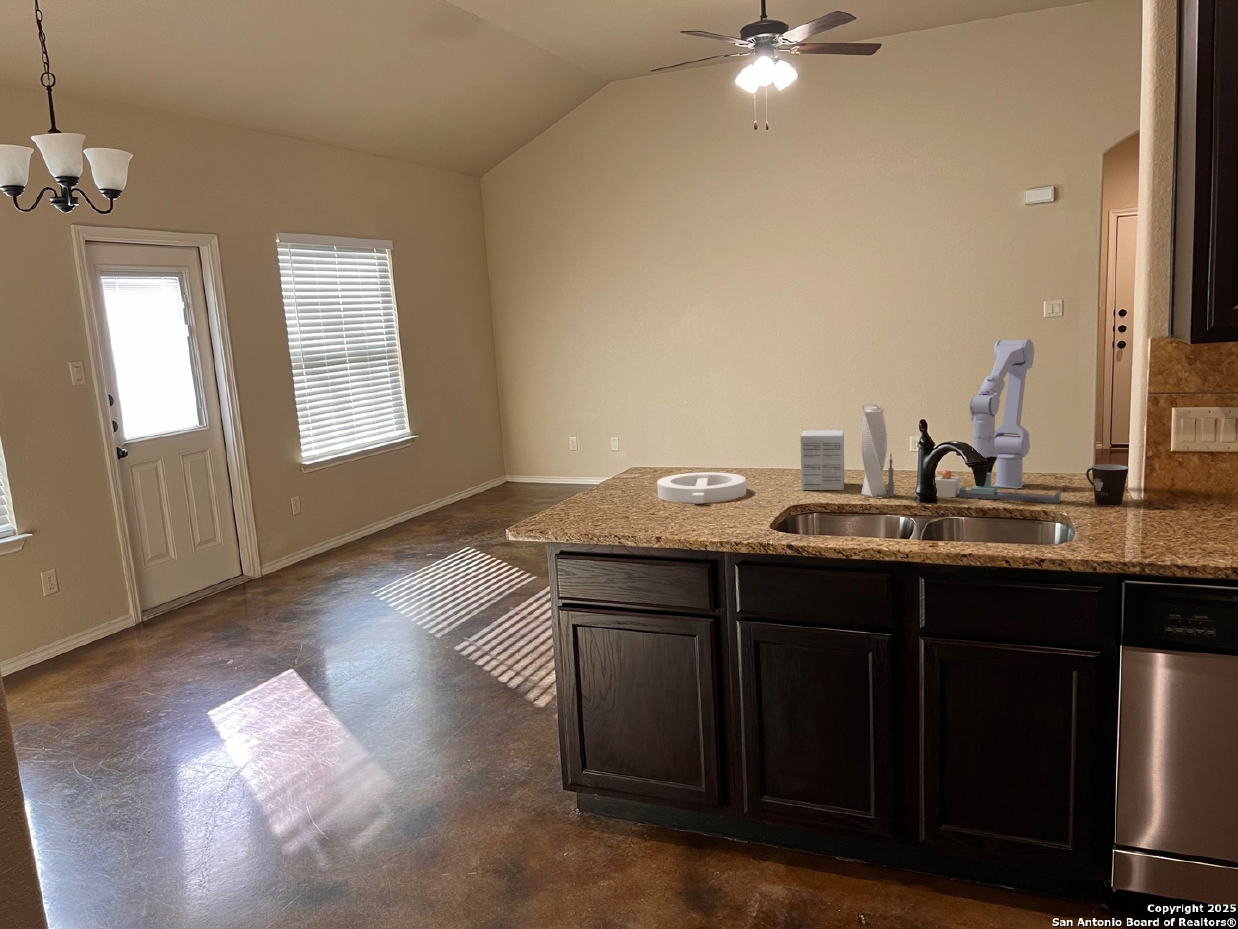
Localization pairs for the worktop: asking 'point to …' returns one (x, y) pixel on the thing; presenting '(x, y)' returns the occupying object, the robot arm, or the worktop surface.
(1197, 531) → the worktop surface
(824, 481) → the supplement box
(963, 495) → the rail
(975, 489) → the carriage
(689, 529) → the worktop surface
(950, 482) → the white button housing
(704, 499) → the ring with crossbar
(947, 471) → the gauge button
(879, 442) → the skyscraper
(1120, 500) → the coffee mug
